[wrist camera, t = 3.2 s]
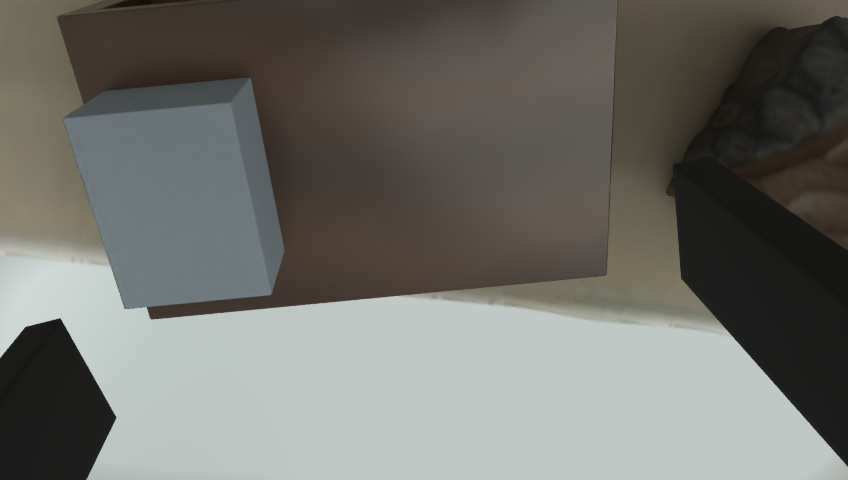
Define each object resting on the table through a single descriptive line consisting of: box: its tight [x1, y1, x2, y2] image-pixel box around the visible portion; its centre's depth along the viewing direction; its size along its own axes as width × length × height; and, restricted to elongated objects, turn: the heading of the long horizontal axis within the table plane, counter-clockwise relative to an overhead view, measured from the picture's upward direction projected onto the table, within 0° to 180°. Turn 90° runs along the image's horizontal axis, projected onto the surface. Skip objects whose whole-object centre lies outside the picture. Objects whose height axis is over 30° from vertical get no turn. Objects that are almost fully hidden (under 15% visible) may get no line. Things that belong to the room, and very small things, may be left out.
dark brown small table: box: [57, 0, 618, 319], centre depth 34 cm, size 14×22×11 cm, turn 95°
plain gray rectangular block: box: [63, 77, 285, 309], centre depth 28 cm, size 8×6×4 cm
